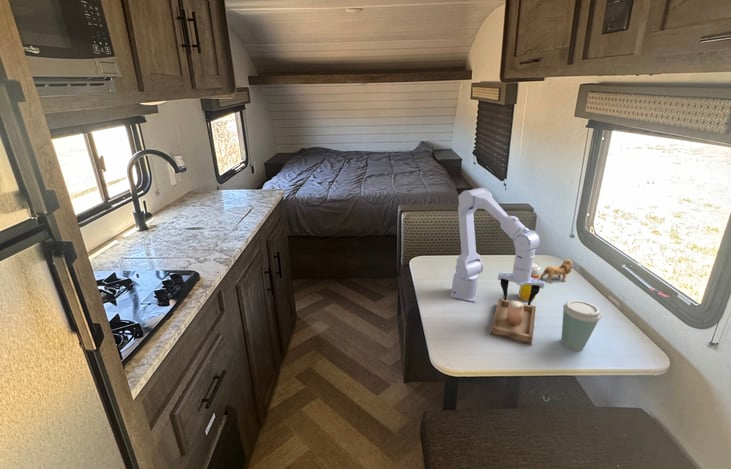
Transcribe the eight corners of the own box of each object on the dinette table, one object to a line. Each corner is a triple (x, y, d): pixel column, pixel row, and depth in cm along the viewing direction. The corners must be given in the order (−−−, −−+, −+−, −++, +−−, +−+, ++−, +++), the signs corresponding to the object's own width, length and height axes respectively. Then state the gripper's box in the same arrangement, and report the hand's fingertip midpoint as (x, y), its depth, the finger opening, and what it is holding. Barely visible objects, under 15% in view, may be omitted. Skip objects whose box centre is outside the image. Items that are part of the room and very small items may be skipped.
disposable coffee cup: (550, 334, 128) (558, 296, 122) (582, 334, 128) (591, 296, 122) (564, 355, 118) (574, 315, 112) (599, 355, 118) (610, 315, 112)
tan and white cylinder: (505, 323, 132) (508, 306, 130) (507, 315, 136) (510, 299, 134) (520, 327, 130) (523, 309, 127) (521, 319, 134) (525, 302, 132)
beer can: (536, 302, 146) (542, 268, 140) (519, 301, 147) (525, 267, 141) (532, 294, 151) (539, 261, 146) (517, 293, 153) (522, 260, 147)
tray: (490, 334, 128) (491, 327, 127) (498, 305, 145) (499, 298, 144) (531, 345, 123) (532, 337, 122) (534, 313, 139) (535, 306, 138)
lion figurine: (564, 275, 166) (568, 257, 163) (573, 280, 162) (577, 262, 158) (535, 279, 163) (539, 261, 159) (544, 285, 158) (547, 266, 155)
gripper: (498, 267, 125) (493, 302, 130) (546, 276, 119) (539, 312, 124) (501, 258, 130) (496, 292, 136) (547, 266, 125) (540, 301, 130)
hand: (517, 301), depth 130 cm, fingers open, 7 cm apart
